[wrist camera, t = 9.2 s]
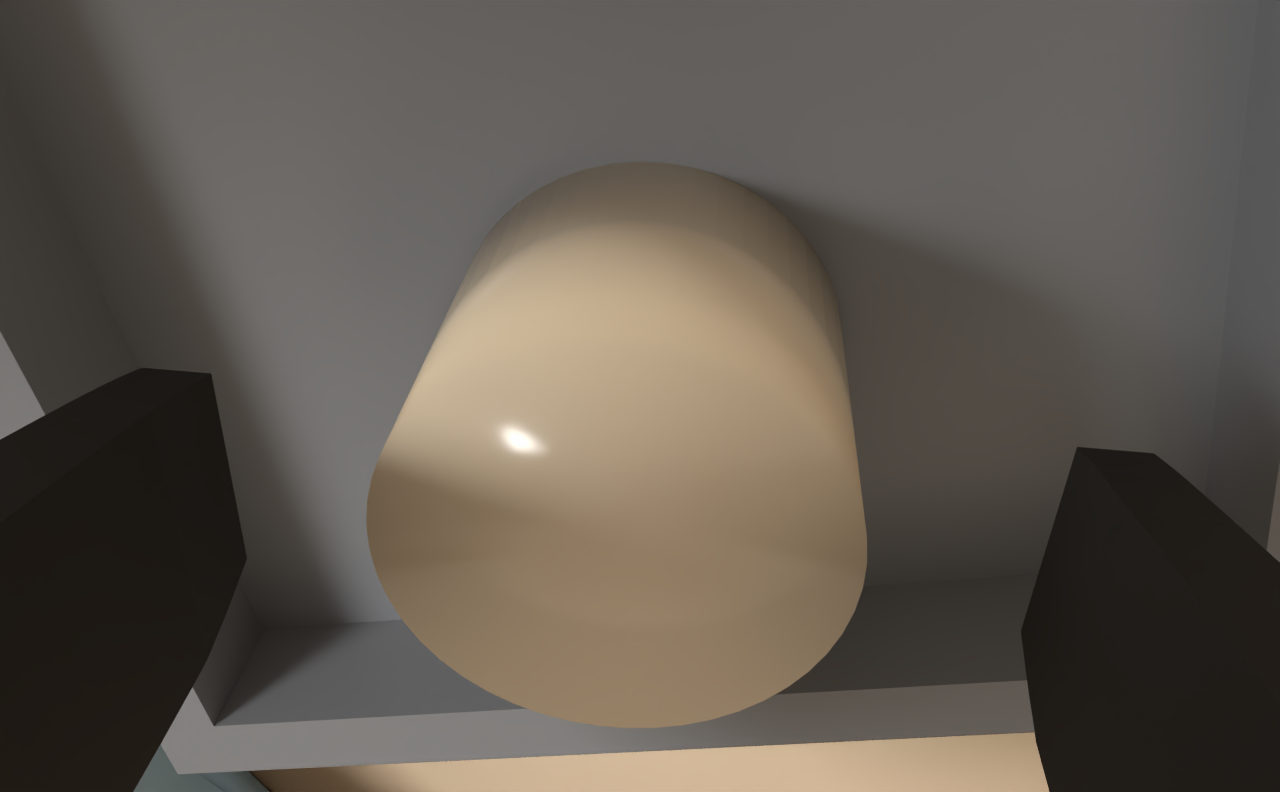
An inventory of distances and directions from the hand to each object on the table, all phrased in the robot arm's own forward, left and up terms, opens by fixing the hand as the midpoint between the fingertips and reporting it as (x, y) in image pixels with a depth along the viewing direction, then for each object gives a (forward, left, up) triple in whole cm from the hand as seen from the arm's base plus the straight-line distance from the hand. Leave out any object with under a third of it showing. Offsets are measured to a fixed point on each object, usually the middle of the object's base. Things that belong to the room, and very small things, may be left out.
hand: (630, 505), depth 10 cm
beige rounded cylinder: (0, 0, -3) cm, 3 cm away
